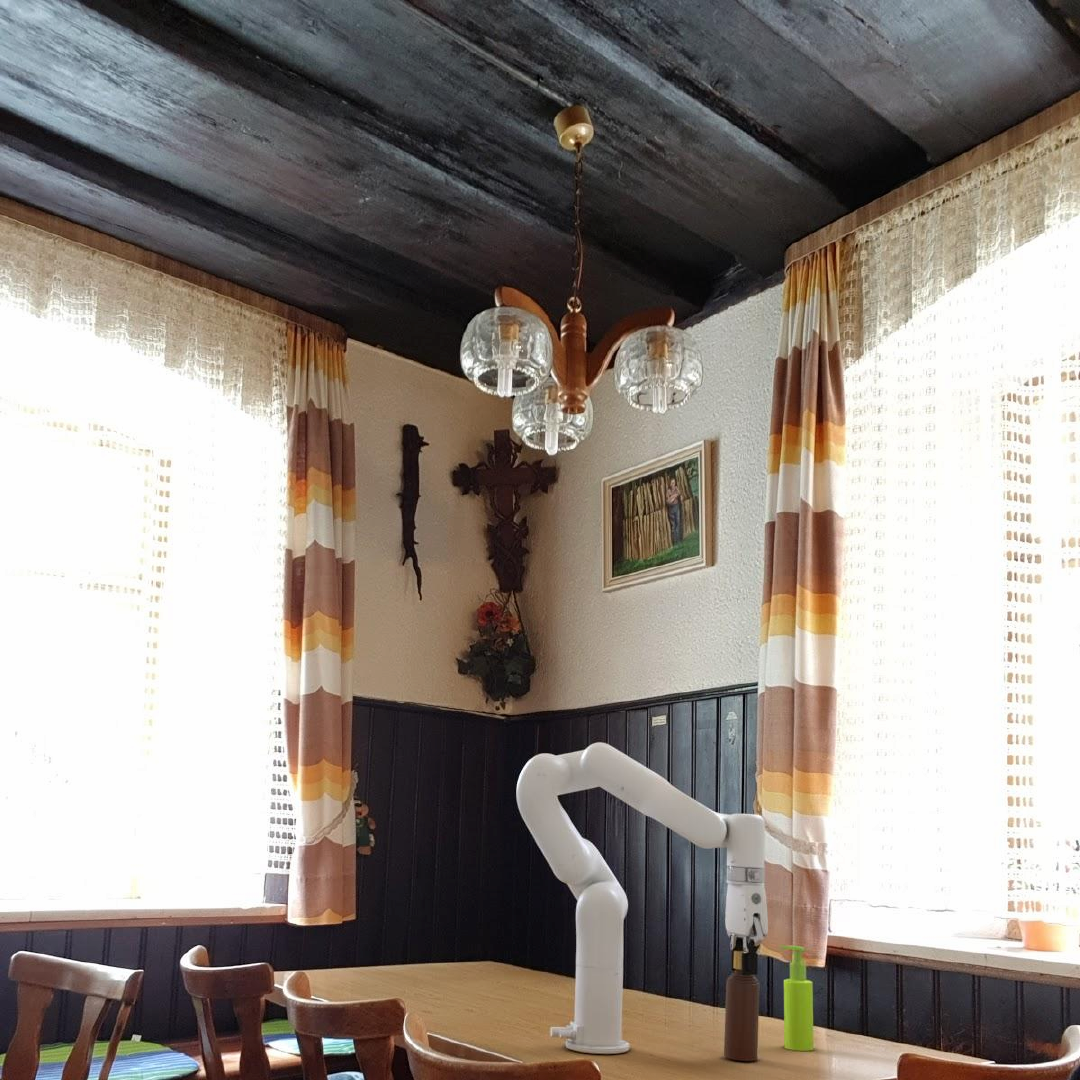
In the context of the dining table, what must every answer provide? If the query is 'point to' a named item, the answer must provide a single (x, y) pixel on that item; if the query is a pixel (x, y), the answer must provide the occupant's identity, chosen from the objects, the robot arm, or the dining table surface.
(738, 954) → the cap
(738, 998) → the bottle
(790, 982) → the soap dispenser
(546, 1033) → the dining table surface
